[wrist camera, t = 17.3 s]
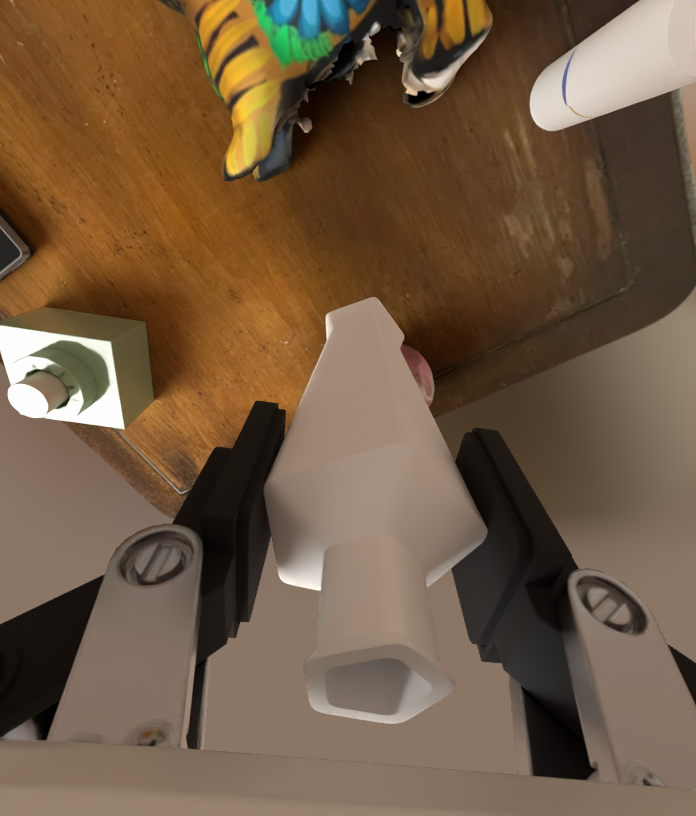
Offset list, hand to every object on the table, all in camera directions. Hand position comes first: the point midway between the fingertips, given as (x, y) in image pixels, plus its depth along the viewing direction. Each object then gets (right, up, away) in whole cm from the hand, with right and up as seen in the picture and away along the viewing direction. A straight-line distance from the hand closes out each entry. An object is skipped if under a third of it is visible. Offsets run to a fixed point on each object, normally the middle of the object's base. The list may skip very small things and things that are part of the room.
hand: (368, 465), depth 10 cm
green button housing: (-26, +7, +30) cm, 40 cm away
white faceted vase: (0, +5, +9) cm, 10 cm away
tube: (+15, +25, +19) cm, 35 cm away
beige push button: (-27, +3, +23) cm, 35 cm away
